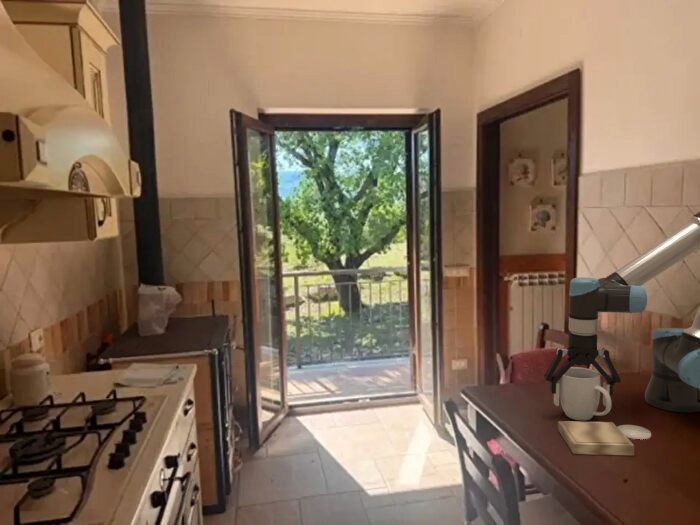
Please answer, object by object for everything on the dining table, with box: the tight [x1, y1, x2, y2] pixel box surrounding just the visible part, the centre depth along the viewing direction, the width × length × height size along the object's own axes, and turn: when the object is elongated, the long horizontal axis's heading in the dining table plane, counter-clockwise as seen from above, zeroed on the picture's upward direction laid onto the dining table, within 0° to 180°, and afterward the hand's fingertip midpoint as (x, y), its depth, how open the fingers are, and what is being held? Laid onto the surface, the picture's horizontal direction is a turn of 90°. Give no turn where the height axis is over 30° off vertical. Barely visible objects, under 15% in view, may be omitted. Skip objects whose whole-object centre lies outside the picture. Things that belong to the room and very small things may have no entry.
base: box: [557, 420, 635, 456], centre depth 132 cm, size 14×14×3 cm
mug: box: [558, 366, 612, 422], centre depth 147 cm, size 15×11×13 cm
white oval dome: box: [617, 424, 652, 441], centre depth 137 cm, size 8×8×1 cm
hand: (580, 405), depth 148 cm, fingers open, 13 cm apart
